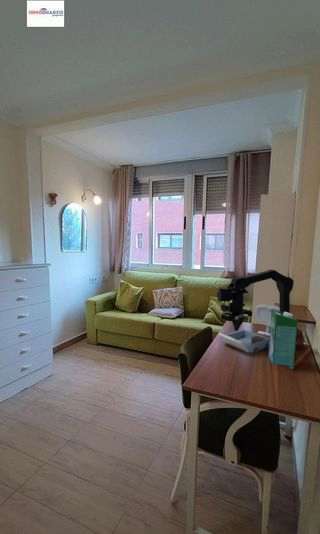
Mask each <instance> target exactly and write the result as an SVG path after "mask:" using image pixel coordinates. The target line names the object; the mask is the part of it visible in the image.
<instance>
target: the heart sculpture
mask: <svg viewBox="0 0 320 534" xmlns="http://www.w3.org/2000/svg"><path fill="white" fill-rule="evenodd" d="M272 309H273V310H276V311H279V312H280V306H276V305H272V306H269V305H266V304H258V305H257V306H256V307H255V309H254V310H255V316H256V318H257V319H258V320H259V321H260V322H261V323H262V324H263V325H265V331H262V330H257V331H258V332H257V333H256V334H259V335H264V334H265V335H264V336H269V337H270V325H271V311H272Z"/></svg>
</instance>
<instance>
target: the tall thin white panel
mask: <svg viewBox="0 0 320 534" xmlns="http://www.w3.org/2000/svg"><path fill="white" fill-rule="evenodd" d="M218 336H219V337H220V339H222V341H223V342H224V343H225V344H227V345H229V346H232V347H233V348H237V349H238V350H241V351H243V352H245V353H249V350H248V349H247V348H246V346H245V345H244V344H243V342H242V341H239V340H237V339H234V338H231V337H229V336H226V334H224V333H220V332H219V333H218Z"/></svg>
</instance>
